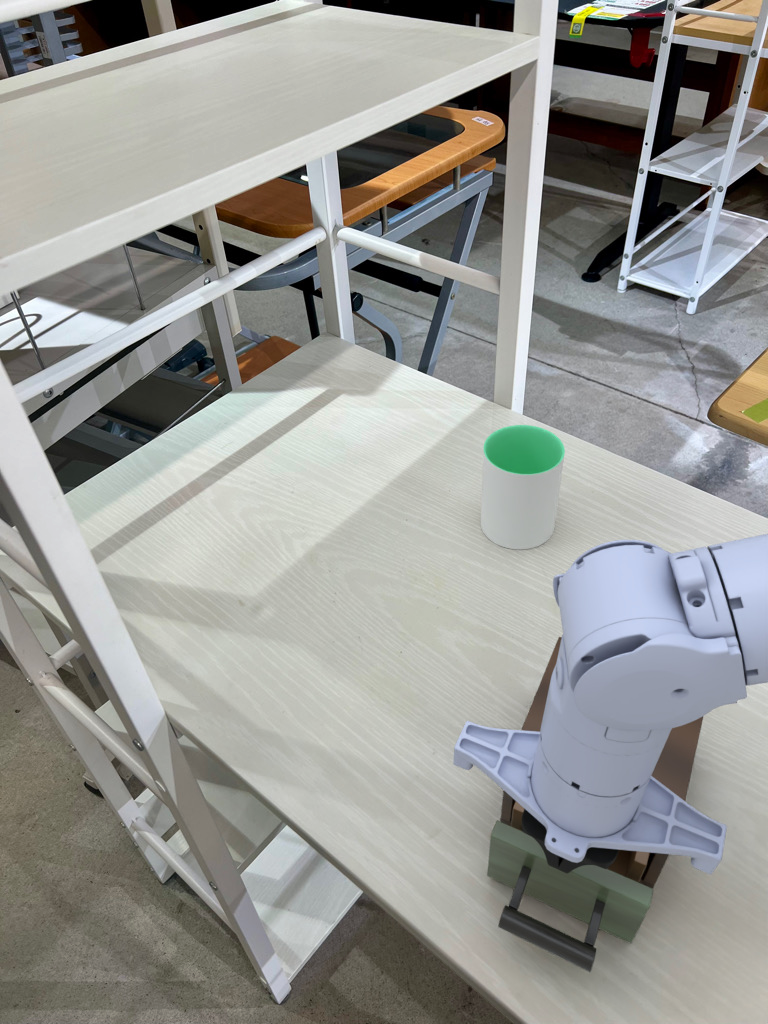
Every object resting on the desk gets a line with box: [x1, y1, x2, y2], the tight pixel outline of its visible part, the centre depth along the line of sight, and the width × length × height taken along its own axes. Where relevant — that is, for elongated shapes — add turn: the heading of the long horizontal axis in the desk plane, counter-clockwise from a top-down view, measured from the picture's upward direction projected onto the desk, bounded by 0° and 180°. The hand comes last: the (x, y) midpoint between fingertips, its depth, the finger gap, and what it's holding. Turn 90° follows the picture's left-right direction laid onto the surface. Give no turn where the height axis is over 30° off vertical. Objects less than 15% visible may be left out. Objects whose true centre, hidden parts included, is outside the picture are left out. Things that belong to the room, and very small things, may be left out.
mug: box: [480, 424, 566, 550], centre depth 80 cm, size 12×8×10 cm
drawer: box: [486, 801, 654, 973], centre depth 52 cm, size 16×10×7 cm, turn 153°
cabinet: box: [499, 636, 704, 890], centre depth 57 cm, size 13×12×9 cm
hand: (562, 854), depth 47 cm, fingers closed
